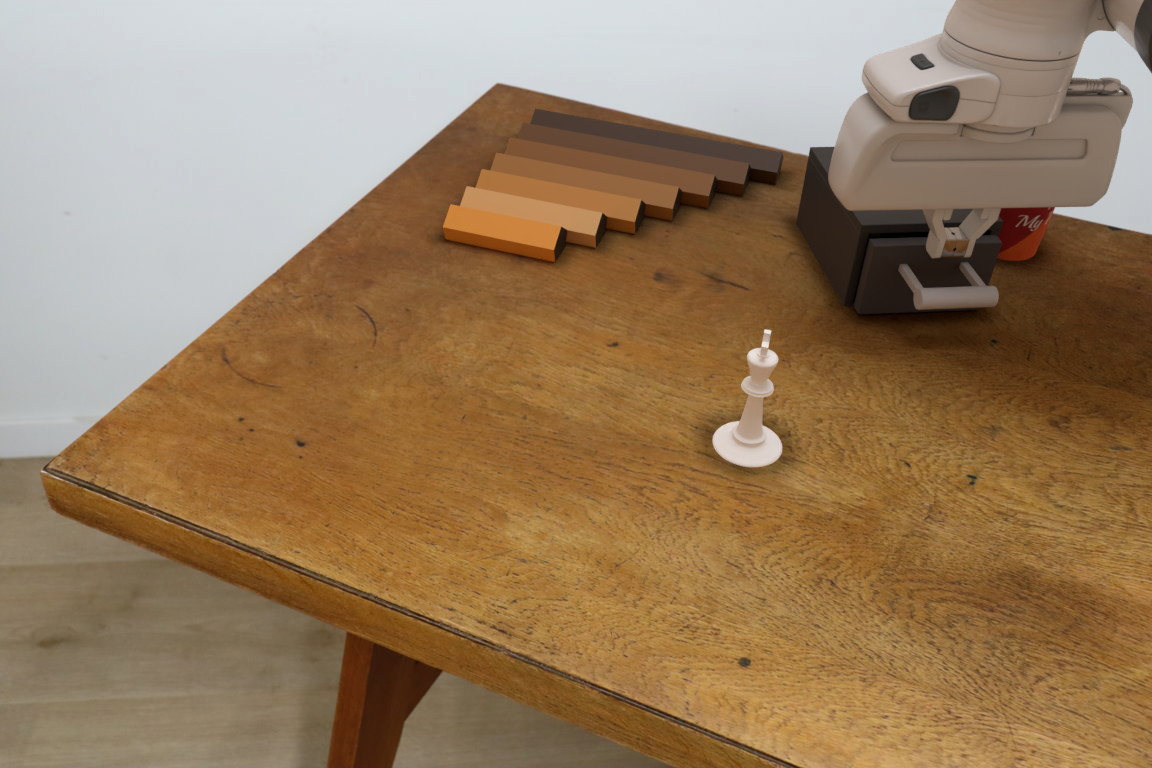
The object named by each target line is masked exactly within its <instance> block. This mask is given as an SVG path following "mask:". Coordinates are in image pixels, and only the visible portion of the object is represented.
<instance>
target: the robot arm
mask: <svg viewBox="0 0 1152 768" xmlns="http://www.w3.org/2000/svg"><path fill="white" fill-rule="evenodd" d="M1099 31H1102V32H1116V34H1118V35H1119V36H1120V37H1121V38H1122V39H1123V40H1124V41H1125V42H1126V43H1128V45H1129V46H1130V47H1132V48H1133V49H1134V50H1135V52H1136V53H1137V54H1138V56H1139V57H1140V59H1141V60H1142V62H1143V63H1144V65H1145V66H1146V67H1147V69H1148V70H1149V72H1150V73H1151V74H1152V0H955V1H954V3H953V5H952V6H951V8H950V10H949V12H948V14H947V15H946V18H945V21H944V25H943V28H942V32H941V33H937V34H936V35H933V36H930V37H928V38H925V39H922V40H920V41H917V42H913V43H911V44H908V45H905V46H902V47H898V48H896V49H892V50H889V51H885V52H882V53H879V54H876V55H874V56H871V57H869V58H868V59H867V60H866V61H865V63H864V65H863V67H862V71H861V83H862V84H863V86H864V89H865V90H866V92H864V93H863V94H862V95H860V96H859V97H857V98H856V99H855V100H854V101H853V102H852V103H851V105H850V106H849V107H848V109H847V112H846V113H845V115H844V118H843V121H842V123H841V126H840V129H839V131H838V133H837V134H838V135H837V137H836V141H835V143H834V144H835V145H834V146H833V147H834V151H833V155H832V159H831V163H830V168H829V174H828V181H829V185H830V187H831V189H832V191H833V192H834V194H835V196H836V197H837V198H838V200H839V201H840V202H841V203H842V205H843V206H844V207H845V208H846V209H847V210H850V211H873V210H923V213H924V216H925V218H926V221H927V224H928V227H929V229H930V231H929V235H928V239H927V242H926V251H927V252H928V254H929V255H930V256H931V258H957V257H970V256H971V254H972V251H973V248H974V245H975V242H976V239H978V238H979V237H980V236H981V235H982V234H983V233H984V232H985V231H986V230H988V229H989V228H990V227H991V226H992V225H993V224H994V223H995V222H996V221H997V220H998V217H999V214H1000V211H1001V208H1040V207H1055V208H1087V207H1093V206H1094V205H1095V204H1096V203H1098V202H1099V201H1100V200H1101V199H1102V198H1104V197H1105V195H1107V192H1108V190H1109V187H1110V185H1111V182H1112V179H1113V175H1114V171H1115V169H1116V164H1117V160H1118V156H1119V151H1120V146H1121V145H1120V144H1121V142H1122V141H1121V140H1122V130H1123V128H1124V127H1125V125H1126V124H1127V121H1128V118H1129V116H1130V113H1131V110H1132V108H1133V104H1134V98H1133V95H1132V92H1131V89H1130V88H1129V87H1128V86H1126V85H1125V84H1122V81H1121V80H1120V79H1119V78H1115V77H1099V78H1086V77H1073V75H1074V73H1075V70H1076V67H1077V64H1078V61H1079V57H1080V55H1081V52H1082V49H1083V46H1084V43H1085V41H1086V40H1087V38H1088V37H1089V36H1090V35H1092V34H1093V33H1096V32H1099ZM953 209H973V210H972V211H971V213H970V214H969V215H968V216H967V217H966V219H965V220H964V221H963V222H962V223H961V225H960V226H959V227H954V228H944V225H943V222H942V220H950V218H951V215H952V212H953Z"/></svg>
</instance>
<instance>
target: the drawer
mask: <svg viewBox="0 0 1152 768" xmlns="http://www.w3.org/2000/svg"><path fill="white" fill-rule="evenodd" d="M928 235H929V232H907V233H872V234H869V237H868V241H867V245H866V250H865V254H864V258H863V263H862V267H861V271H860V275H859V280H858V284H857V288H856V293H857V294H856V298H855V302H854V305H853V308H854V310H855V312H856V313H857V315H875V314H876V315H877V314H878V315H879V314H903V313H904V314H905V313H925V312H926V313H927V312H930V313H931V312H955V311H956V312H958V311H980V310H981V309H982V308H994V307H996V306H997V305H998V303H999V298H1000V297H999V296H1000V293H999V290H998V288H997V286H995V285H990V282H991V280H992V279H991V278H992V276H993V273H994V270H995V266H996V263H997V260H998V258H997V257H998V254H999V251H1000V248H1001V245H1002V242H1001V241H1000V239H999V238H998V237H997V236H996V235H981V236H980V237H979V238H978V239H976V242H975V245H974V248H973V251H972V254H971V256H970V257H957V258H931V256H930V255H929V254H928V252H927V251H926V242H927V239H928Z"/></svg>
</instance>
